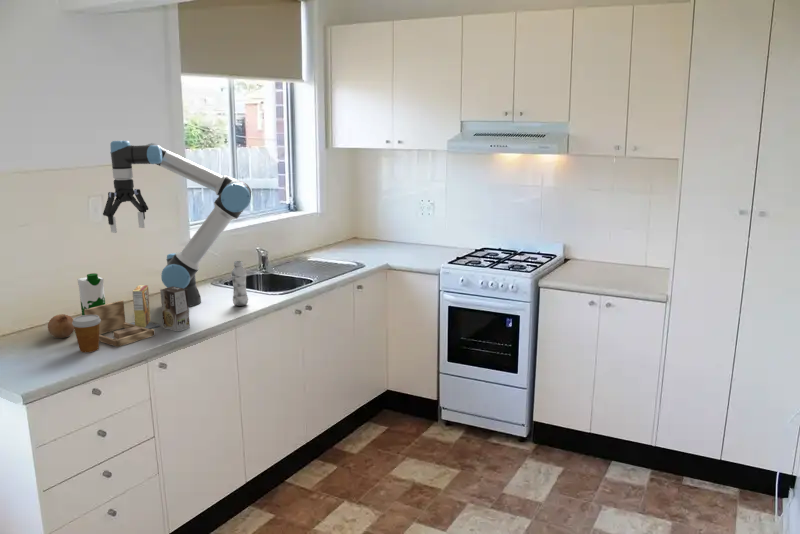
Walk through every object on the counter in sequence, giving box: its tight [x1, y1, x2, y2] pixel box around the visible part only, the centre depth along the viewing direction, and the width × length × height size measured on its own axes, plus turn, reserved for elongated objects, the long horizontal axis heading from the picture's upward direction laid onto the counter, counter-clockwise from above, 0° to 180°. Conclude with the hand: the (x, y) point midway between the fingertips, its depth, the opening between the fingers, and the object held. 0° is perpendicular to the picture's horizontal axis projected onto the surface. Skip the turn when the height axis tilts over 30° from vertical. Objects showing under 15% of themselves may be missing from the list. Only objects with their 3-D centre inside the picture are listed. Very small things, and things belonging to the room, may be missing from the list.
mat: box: [130, 321, 161, 329], centre depth 275 cm, size 8×12×1 cm, turn 56°
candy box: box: [132, 284, 152, 327], centre depth 273 cm, size 9×4×15 cm, turn 7°
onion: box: [47, 313, 75, 339], centre depth 261 cm, size 10×9×10 cm
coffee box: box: [160, 286, 191, 332], centre depth 271 cm, size 9×6×16 cm
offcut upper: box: [113, 326, 142, 339], centre depth 258 cm, size 9×4×2 cm, turn 138°
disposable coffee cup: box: [72, 315, 101, 353], centre depth 246 cm, size 10×10×12 cm
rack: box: [84, 299, 155, 348], centre depth 261 cm, size 16×20×11 cm
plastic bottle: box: [231, 260, 249, 307], centre depth 302 cm, size 6×7×20 cm
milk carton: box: [77, 272, 106, 316], centre depth 280 cm, size 9×9×20 cm
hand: (128, 230), depth 284 cm, fingers open, 13 cm apart
